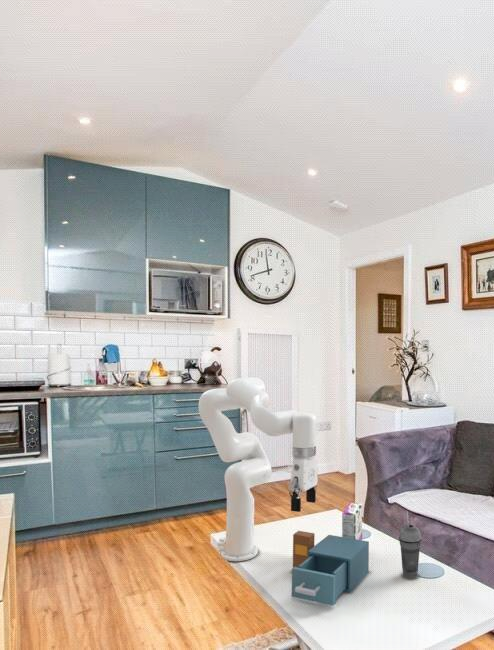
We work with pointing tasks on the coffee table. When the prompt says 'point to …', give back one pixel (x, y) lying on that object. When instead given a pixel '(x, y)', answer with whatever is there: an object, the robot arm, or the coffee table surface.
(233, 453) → the robot arm
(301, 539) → the brown rectangular box
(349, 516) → the candy bar box
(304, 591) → the drawer
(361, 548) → the cabinet
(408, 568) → the beverage cup
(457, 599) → the coffee table surface
